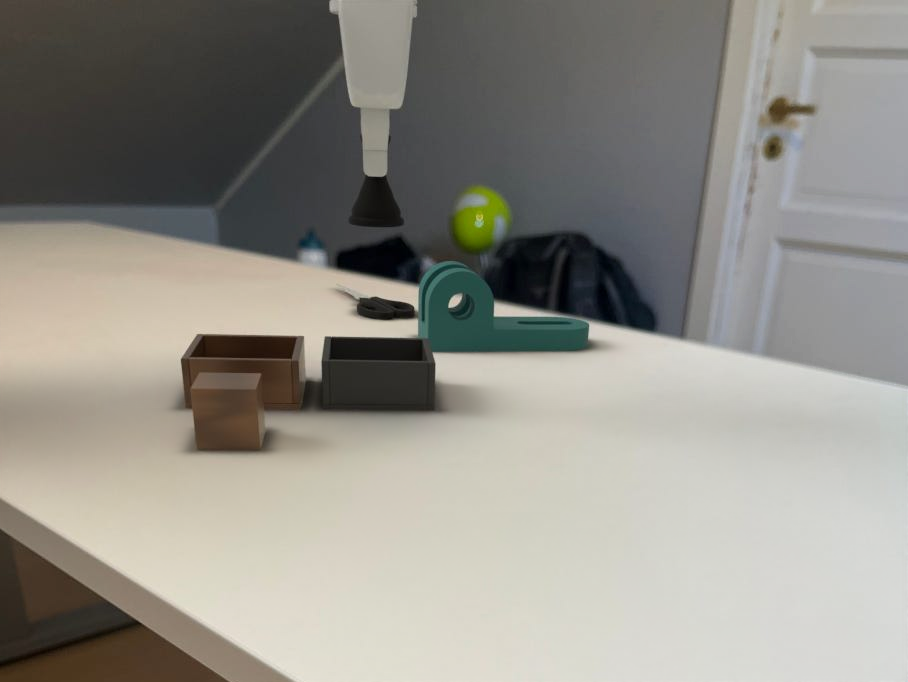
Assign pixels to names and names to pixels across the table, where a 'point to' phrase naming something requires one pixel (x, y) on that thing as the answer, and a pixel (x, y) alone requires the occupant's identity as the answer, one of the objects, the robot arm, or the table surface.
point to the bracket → (485, 318)
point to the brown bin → (251, 364)
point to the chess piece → (376, 204)
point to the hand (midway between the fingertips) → (375, 174)
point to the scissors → (380, 306)
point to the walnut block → (228, 411)
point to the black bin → (378, 373)
